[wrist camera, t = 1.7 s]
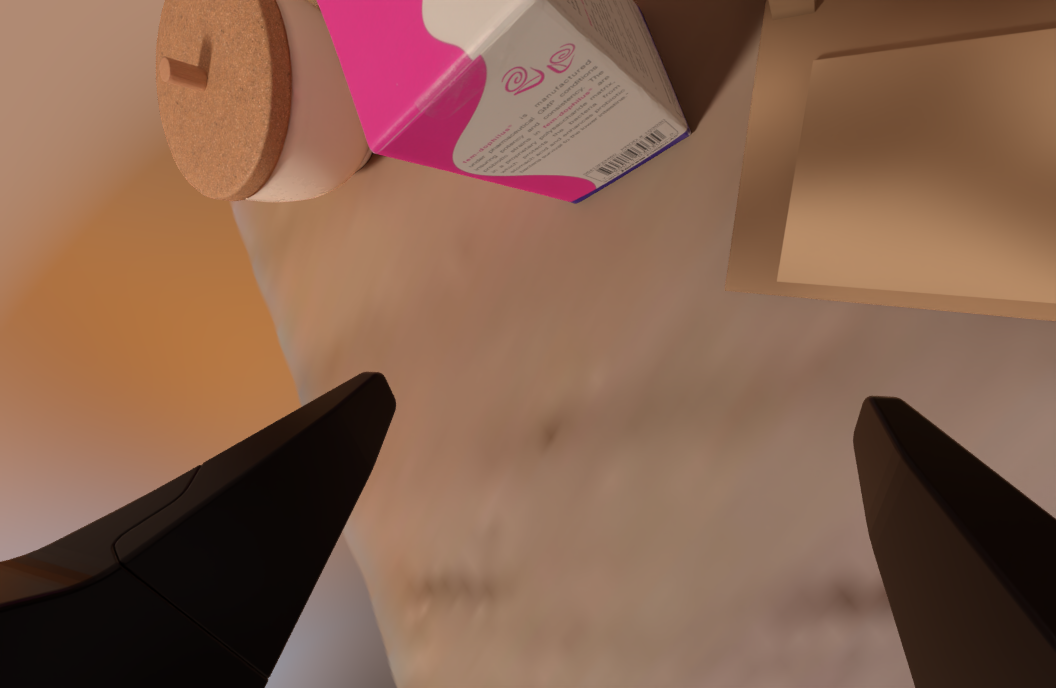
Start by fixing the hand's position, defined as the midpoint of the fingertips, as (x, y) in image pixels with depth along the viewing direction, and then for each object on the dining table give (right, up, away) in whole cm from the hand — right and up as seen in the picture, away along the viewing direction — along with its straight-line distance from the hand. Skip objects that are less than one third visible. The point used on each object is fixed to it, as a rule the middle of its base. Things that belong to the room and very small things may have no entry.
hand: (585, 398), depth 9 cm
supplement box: (+2, +11, +11) cm, 16 cm away
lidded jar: (-12, +15, +20) cm, 27 cm away
